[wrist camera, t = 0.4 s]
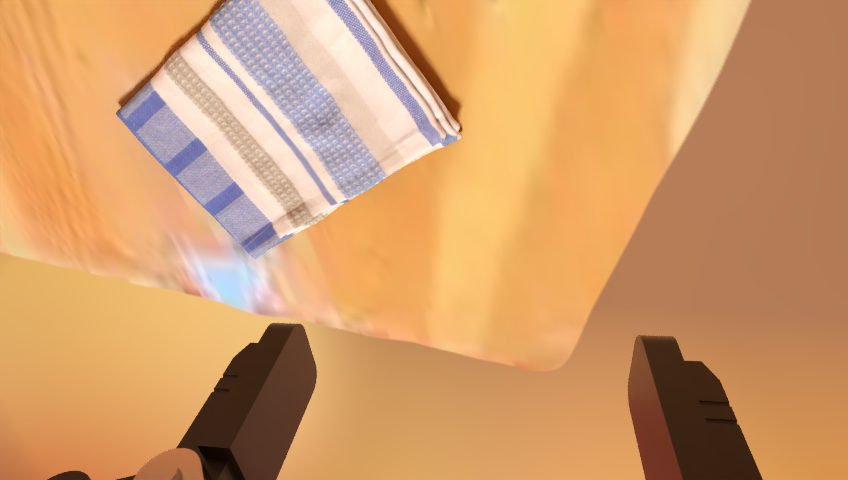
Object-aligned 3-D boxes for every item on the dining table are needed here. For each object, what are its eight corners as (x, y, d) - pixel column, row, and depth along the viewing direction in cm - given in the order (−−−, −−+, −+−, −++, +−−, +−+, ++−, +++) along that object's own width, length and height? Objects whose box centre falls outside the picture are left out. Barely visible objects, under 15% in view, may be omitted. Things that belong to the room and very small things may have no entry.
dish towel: (470, 129, 39) (468, 142, 36) (263, 253, 48) (250, 270, 46) (326, -92, 32) (312, -93, 30) (121, 103, 42) (98, 114, 40)
